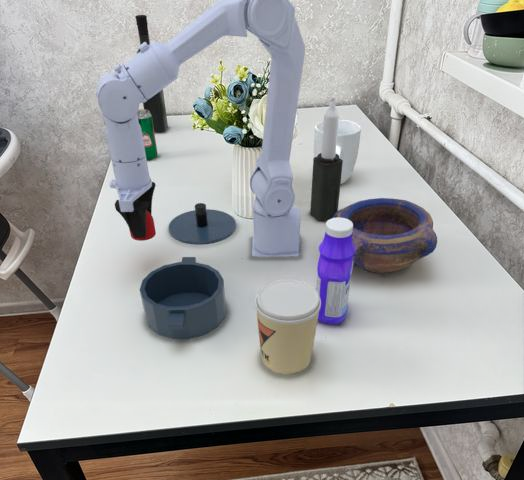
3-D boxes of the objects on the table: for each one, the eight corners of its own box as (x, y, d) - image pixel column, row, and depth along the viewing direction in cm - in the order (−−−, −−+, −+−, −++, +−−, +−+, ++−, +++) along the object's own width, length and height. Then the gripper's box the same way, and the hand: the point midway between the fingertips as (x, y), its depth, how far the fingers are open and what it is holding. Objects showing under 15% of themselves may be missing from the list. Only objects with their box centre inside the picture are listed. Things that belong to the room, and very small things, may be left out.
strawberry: (157, 228, 93) (153, 201, 89) (153, 240, 89) (148, 213, 86) (133, 228, 93) (127, 201, 89) (128, 240, 89) (122, 213, 86)
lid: (237, 213, 112) (236, 190, 109) (234, 246, 102) (233, 222, 98) (174, 213, 113) (170, 190, 109) (164, 247, 102) (160, 222, 98)
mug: (356, 197, 118) (363, 141, 109) (310, 195, 119) (313, 140, 110) (354, 171, 129) (360, 119, 120) (312, 170, 130) (315, 118, 121)
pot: (228, 283, 92) (226, 253, 88) (222, 352, 78) (219, 320, 74) (156, 283, 92) (150, 253, 88) (137, 352, 78) (129, 321, 74)
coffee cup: (254, 340, 80) (252, 279, 72) (310, 336, 81) (315, 275, 72) (258, 381, 73) (257, 319, 65) (320, 377, 74) (326, 315, 66)
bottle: (345, 329, 82) (357, 236, 70) (311, 325, 83) (318, 233, 71) (348, 303, 87) (360, 213, 75) (316, 300, 88) (323, 210, 76)
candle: (320, 222, 109) (329, 101, 92) (308, 213, 112) (314, 94, 95) (339, 217, 110) (351, 97, 94) (326, 208, 114) (336, 90, 97)
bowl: (327, 238, 104) (331, 193, 97) (411, 237, 104) (421, 192, 97) (337, 287, 91) (343, 239, 84) (434, 286, 91) (447, 238, 84)
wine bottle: (151, 126, 156) (133, 13, 136) (169, 127, 155) (153, 13, 135) (146, 133, 152) (127, 17, 131) (164, 133, 151) (148, 17, 131)
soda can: (137, 160, 136) (128, 114, 128) (144, 153, 140) (136, 108, 132) (154, 161, 135) (146, 115, 127) (160, 154, 139) (153, 109, 131)
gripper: (114, 140, 87) (129, 211, 96) (93, 174, 76) (112, 250, 85) (154, 140, 87) (165, 211, 96) (138, 174, 76) (152, 250, 85)
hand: (142, 230), depth 90 cm, fingers closed on strawberry, 4 cm apart
